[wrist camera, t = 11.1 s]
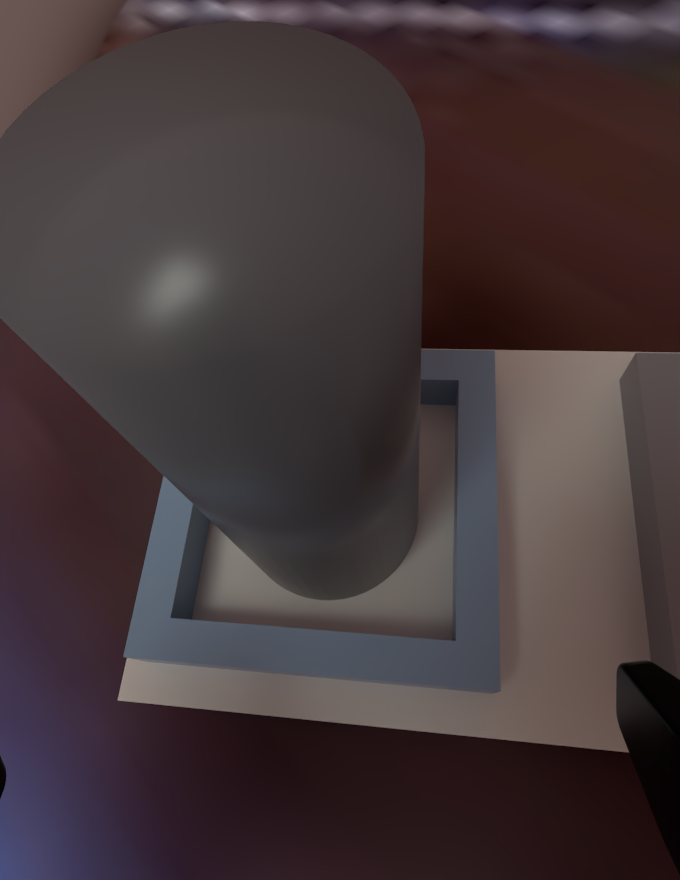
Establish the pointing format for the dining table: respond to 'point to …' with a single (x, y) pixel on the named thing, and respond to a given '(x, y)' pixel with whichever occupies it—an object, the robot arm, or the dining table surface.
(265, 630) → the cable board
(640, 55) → the dining table surface
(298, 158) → the grey cylinder
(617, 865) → the dining table surface
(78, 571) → the dining table surface
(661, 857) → the dining table surface
